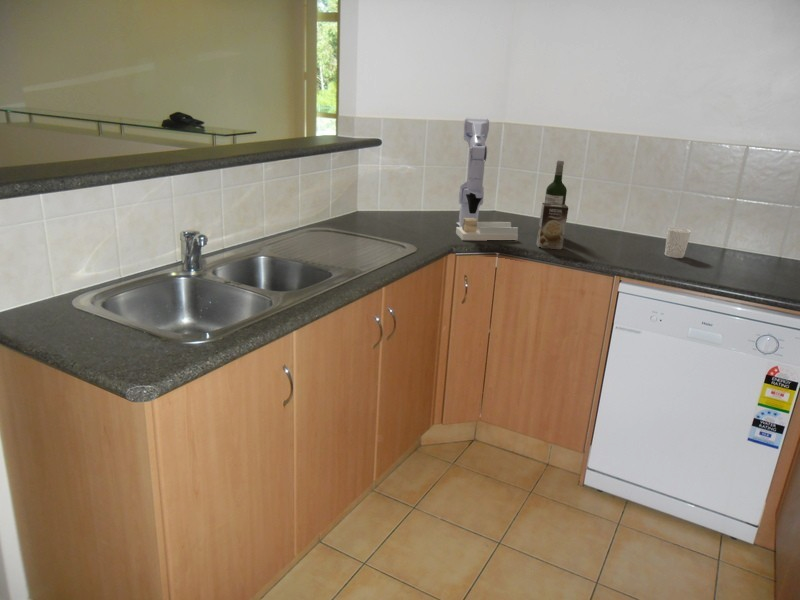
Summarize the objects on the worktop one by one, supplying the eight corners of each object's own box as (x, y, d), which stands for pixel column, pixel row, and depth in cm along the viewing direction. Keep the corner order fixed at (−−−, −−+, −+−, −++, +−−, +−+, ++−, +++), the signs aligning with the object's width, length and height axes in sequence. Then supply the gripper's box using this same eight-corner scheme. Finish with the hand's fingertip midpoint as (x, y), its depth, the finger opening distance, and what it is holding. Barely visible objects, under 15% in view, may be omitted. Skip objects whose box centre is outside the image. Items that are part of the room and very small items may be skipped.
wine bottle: (540, 236, 256) (550, 161, 245) (540, 232, 263) (550, 158, 253) (560, 238, 254) (570, 163, 244) (560, 234, 261) (570, 160, 251)
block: (462, 229, 250) (463, 217, 249) (473, 229, 251) (474, 218, 250) (464, 231, 246) (465, 220, 245) (476, 232, 247) (477, 220, 245)
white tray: (455, 233, 254) (456, 220, 252) (508, 233, 258) (510, 221, 256) (462, 240, 244) (463, 227, 242) (517, 240, 247) (518, 228, 246)
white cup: (658, 253, 240) (663, 227, 237) (674, 252, 243) (679, 226, 240) (673, 259, 234) (678, 232, 230) (690, 258, 236) (695, 232, 233)
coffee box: (537, 248, 239) (543, 205, 233) (536, 243, 245) (541, 202, 239) (562, 249, 238) (568, 207, 233) (560, 245, 244) (566, 204, 239)
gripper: (460, 174, 248) (458, 208, 253) (470, 180, 235) (467, 217, 239) (478, 175, 249) (475, 209, 254) (488, 181, 236) (485, 217, 240)
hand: (472, 213), depth 247 cm, fingers closed
